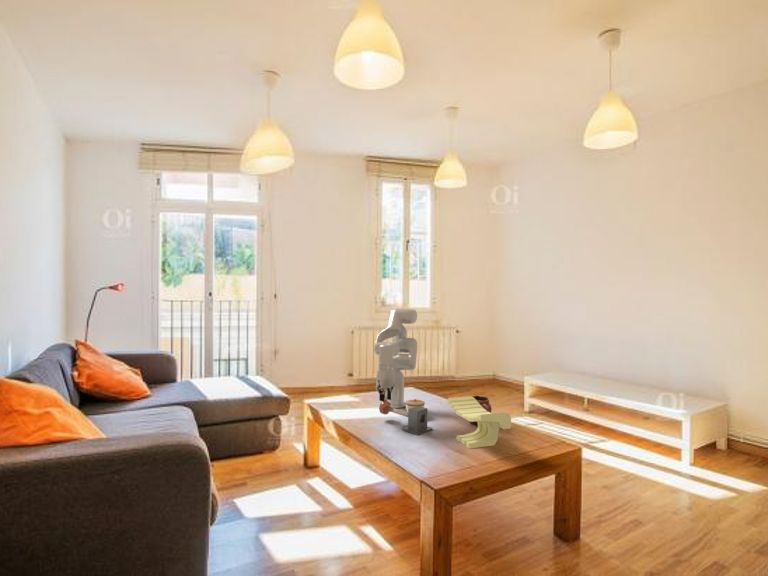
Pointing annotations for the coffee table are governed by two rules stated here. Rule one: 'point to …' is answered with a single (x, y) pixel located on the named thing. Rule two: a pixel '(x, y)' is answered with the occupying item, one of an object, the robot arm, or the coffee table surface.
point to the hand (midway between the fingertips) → (385, 399)
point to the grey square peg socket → (417, 421)
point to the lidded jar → (414, 404)
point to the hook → (389, 407)
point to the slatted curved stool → (479, 422)
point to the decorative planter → (484, 403)
